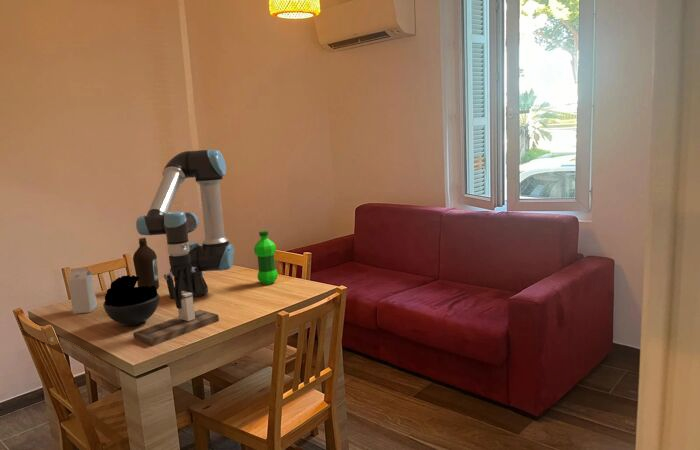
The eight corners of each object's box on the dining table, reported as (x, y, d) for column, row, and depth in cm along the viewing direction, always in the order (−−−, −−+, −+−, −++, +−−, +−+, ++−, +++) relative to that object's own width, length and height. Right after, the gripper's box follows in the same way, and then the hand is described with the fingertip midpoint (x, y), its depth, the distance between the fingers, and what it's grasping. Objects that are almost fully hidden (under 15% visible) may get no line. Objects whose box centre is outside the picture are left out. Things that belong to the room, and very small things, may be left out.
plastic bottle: (261, 279, 253) (257, 229, 249) (282, 279, 251) (277, 229, 247) (254, 285, 244) (249, 233, 240) (275, 285, 242) (270, 233, 237)
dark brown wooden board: (151, 346, 177) (150, 339, 176) (134, 339, 184) (133, 332, 184) (218, 320, 198) (218, 314, 198) (200, 315, 206) (199, 309, 205)
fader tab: (188, 321, 191) (185, 295, 189) (179, 318, 195) (175, 292, 193) (195, 318, 193) (192, 292, 192) (186, 315, 197) (183, 290, 195)
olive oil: (135, 293, 244) (128, 241, 240) (139, 287, 255) (132, 237, 250) (158, 290, 247) (152, 239, 242) (161, 284, 257) (155, 235, 253)
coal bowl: (142, 311, 215) (136, 268, 212) (172, 319, 204) (166, 273, 200) (96, 327, 199) (89, 280, 196) (125, 336, 188) (118, 286, 184)
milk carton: (80, 308, 225) (73, 266, 222) (97, 307, 225) (90, 265, 222) (73, 314, 218) (66, 270, 215) (90, 312, 218) (83, 269, 215)
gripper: (165, 259, 181) (173, 323, 185) (203, 250, 194) (210, 309, 198) (153, 257, 186) (161, 319, 190) (192, 248, 198) (199, 306, 202)
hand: (186, 314), depth 194 cm, fingers closed on fader tab, 3 cm apart
